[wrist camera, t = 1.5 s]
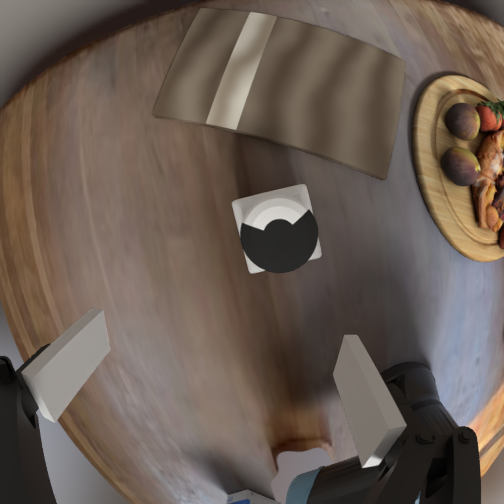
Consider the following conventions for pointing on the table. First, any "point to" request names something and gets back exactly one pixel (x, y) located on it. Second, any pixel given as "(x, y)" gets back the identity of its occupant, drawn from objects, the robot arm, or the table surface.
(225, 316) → the table surface
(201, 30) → the board
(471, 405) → the table surface
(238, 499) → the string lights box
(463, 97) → the wooden plate with food
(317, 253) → the container
